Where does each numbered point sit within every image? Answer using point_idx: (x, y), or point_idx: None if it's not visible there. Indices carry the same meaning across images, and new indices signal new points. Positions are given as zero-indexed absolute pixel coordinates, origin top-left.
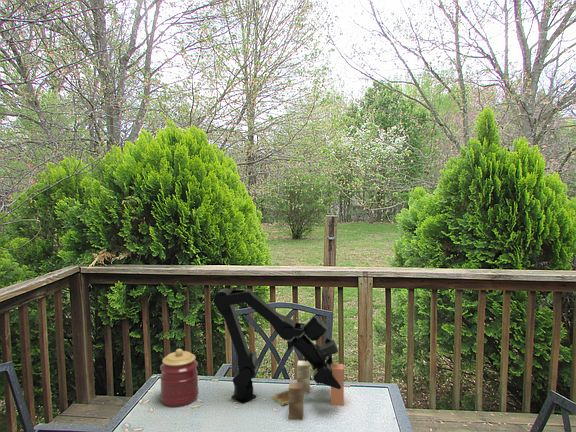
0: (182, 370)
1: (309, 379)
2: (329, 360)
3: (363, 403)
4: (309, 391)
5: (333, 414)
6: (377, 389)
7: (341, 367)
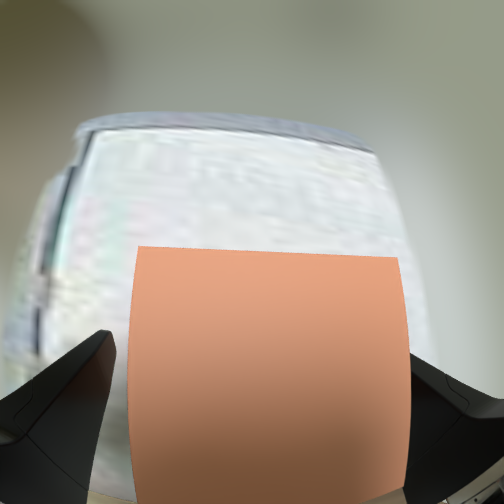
0: None
1: None
2: (6, 481)
3: (230, 230)
4: (125, 500)
5: None
6: (101, 161)
7: (332, 296)
